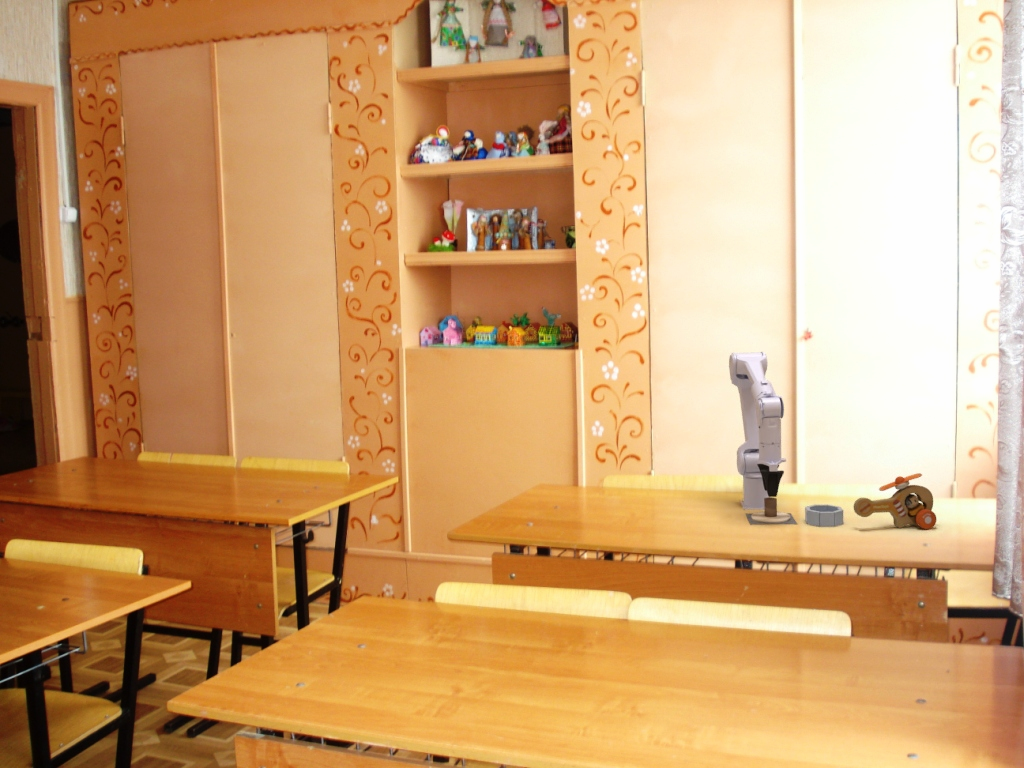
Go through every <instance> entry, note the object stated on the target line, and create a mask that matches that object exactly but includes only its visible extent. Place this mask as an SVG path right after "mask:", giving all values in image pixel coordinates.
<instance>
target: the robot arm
mask: <svg viewBox="0 0 1024 768" xmlns="http://www.w3.org/2000/svg"><path fill="white" fill-rule="evenodd" d="M728 369H729V377H730V378H729V379H730V380H731V384H732V385H733V386H735V387H737V390H738V394H739V395H738V396H739V402H740V410H741V416H742V417H741V418H742V424H743V431H744V433H743V434H744V440H745V442H743V443H742V444H740V446H739V447H738V448H737V450H736V468H737V472H738V474H739V475H741V476H743V477H742V479H743V480H742V486H743V487H742V488H743V494H742V495H743V496H742V497H743V500H740V501H739V502H740V504H741V507H742V509H743V510H764V498H767V497H773V498H776V497H777V496H778V493H779V488H780V487H779V486H780V482H781V480H782V477H783V476H784V473H785V471H784V470H779V468H780V464H782V463H786V462H787V459H786V458H785V457H784V458H782V419H783V418H784V416H785V415H784V414H785V404H784V400H783V397H782V396H780V395H777V394H776V391H775V389H774V387H773V385H772V382H770V381H769V380H767V379H766V373H767V370H768V358H767V354H766V353H765V352H764V351H759V352H731V353H730V355H729V358H728Z"/></svg>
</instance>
